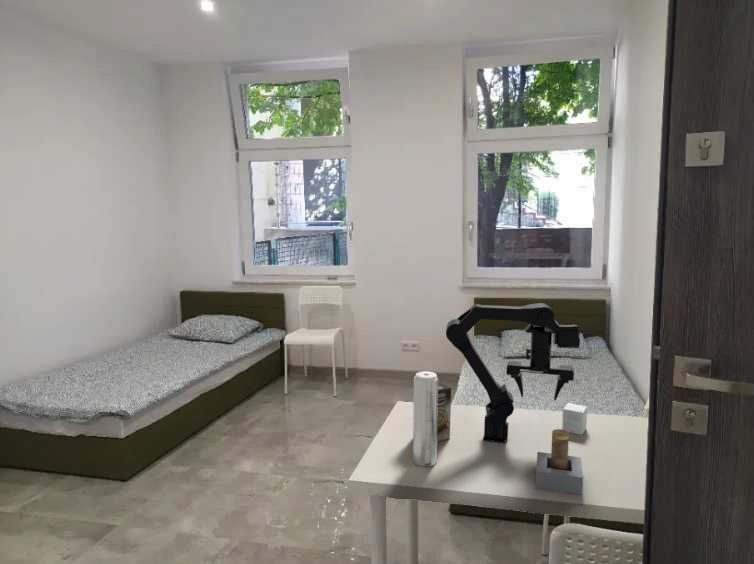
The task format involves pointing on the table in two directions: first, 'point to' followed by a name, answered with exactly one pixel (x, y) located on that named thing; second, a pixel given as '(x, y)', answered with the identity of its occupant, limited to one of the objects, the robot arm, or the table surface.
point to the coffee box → (443, 412)
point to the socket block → (559, 475)
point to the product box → (574, 418)
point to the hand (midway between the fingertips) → (538, 398)
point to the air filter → (425, 418)
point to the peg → (559, 449)
